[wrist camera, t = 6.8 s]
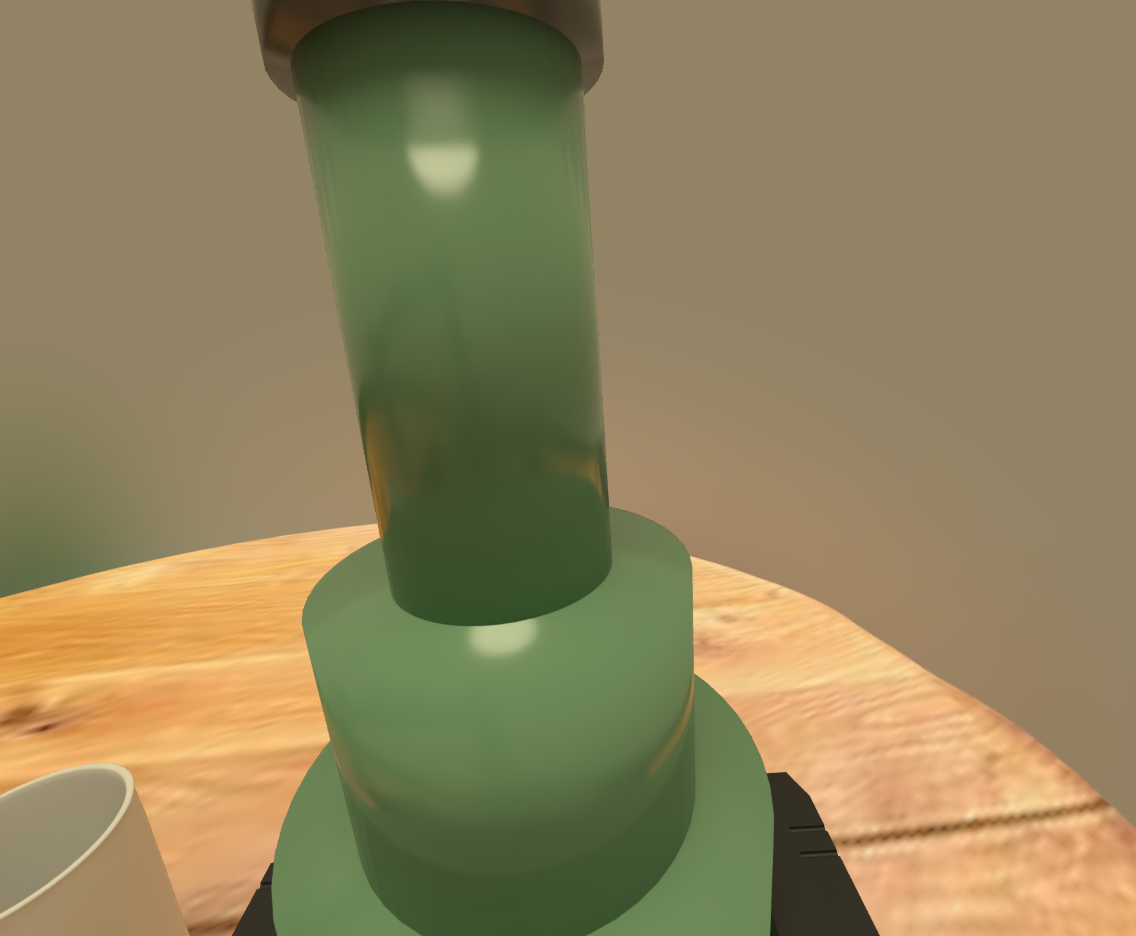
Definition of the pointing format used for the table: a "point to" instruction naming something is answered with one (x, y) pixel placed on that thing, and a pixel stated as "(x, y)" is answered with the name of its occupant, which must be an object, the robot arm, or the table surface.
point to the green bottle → (493, 520)
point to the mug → (82, 859)
